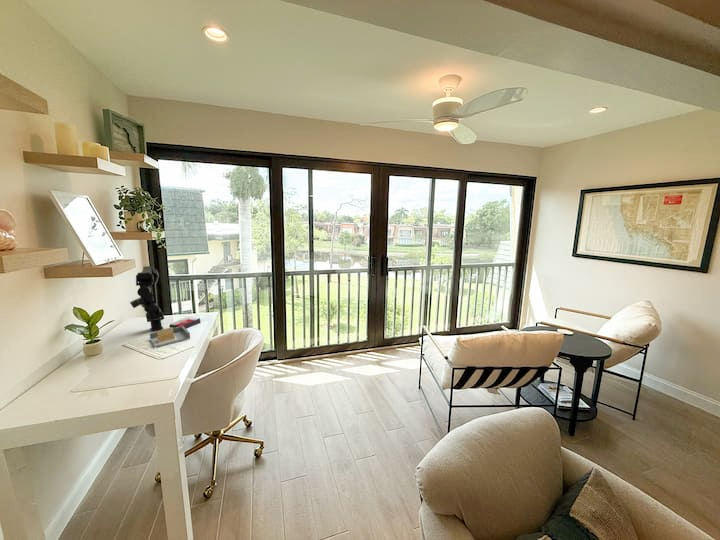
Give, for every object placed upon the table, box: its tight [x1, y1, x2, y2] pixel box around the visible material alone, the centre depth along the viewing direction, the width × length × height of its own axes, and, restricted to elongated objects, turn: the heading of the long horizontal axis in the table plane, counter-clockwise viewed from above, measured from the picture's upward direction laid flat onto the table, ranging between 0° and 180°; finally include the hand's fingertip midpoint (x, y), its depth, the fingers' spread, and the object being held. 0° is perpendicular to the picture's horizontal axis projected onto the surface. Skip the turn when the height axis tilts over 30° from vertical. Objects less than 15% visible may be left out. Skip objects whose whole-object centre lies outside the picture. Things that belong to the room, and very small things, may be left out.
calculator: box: [169, 316, 202, 330], centre depth 199 cm, size 11×4×15 cm
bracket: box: [156, 327, 175, 343], centre depth 173 cm, size 8×5×6 cm, turn 133°
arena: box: [149, 326, 191, 348], centre depth 176 cm, size 16×18×4 cm
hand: (150, 317), depth 177 cm, fingers open, 9 cm apart
